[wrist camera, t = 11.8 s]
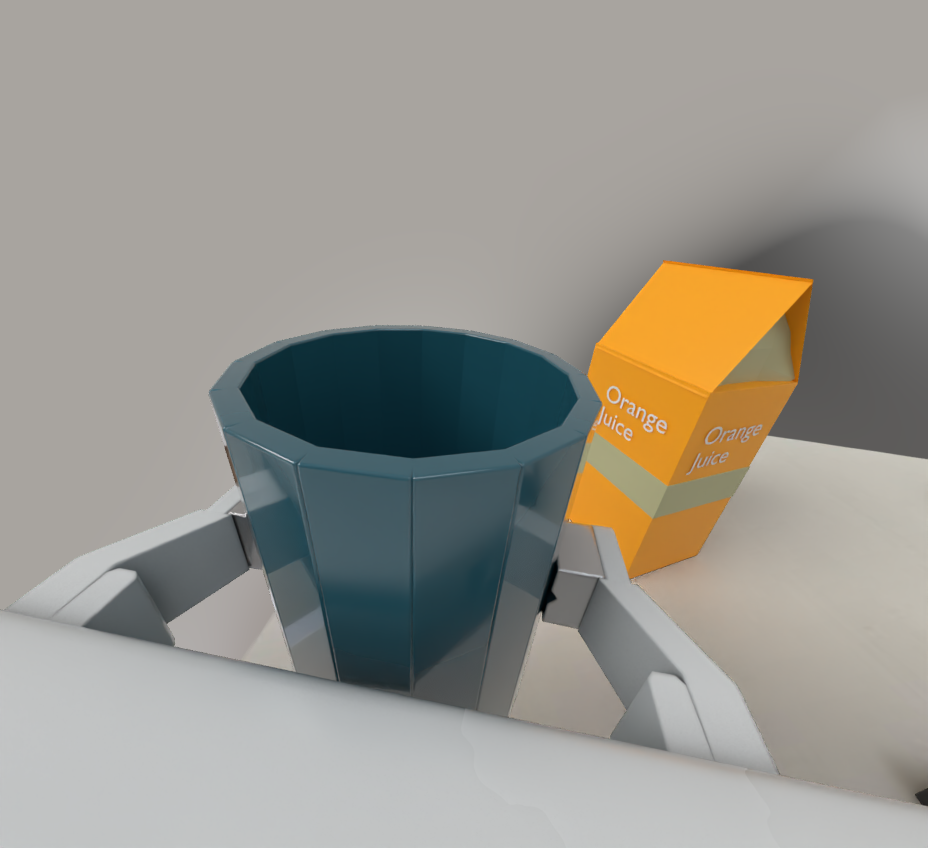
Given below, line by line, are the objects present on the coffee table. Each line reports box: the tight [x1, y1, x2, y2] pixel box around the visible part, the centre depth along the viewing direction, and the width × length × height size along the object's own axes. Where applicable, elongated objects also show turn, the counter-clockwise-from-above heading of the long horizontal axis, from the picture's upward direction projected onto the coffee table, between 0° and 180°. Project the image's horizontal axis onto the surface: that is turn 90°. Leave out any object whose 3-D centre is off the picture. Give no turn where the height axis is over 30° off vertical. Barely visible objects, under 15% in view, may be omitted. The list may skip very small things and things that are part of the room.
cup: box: [209, 325, 602, 717], centre depth 9 cm, size 6×6×10 cm
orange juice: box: [569, 260, 813, 579], centre depth 25 cm, size 8×9×20 cm
